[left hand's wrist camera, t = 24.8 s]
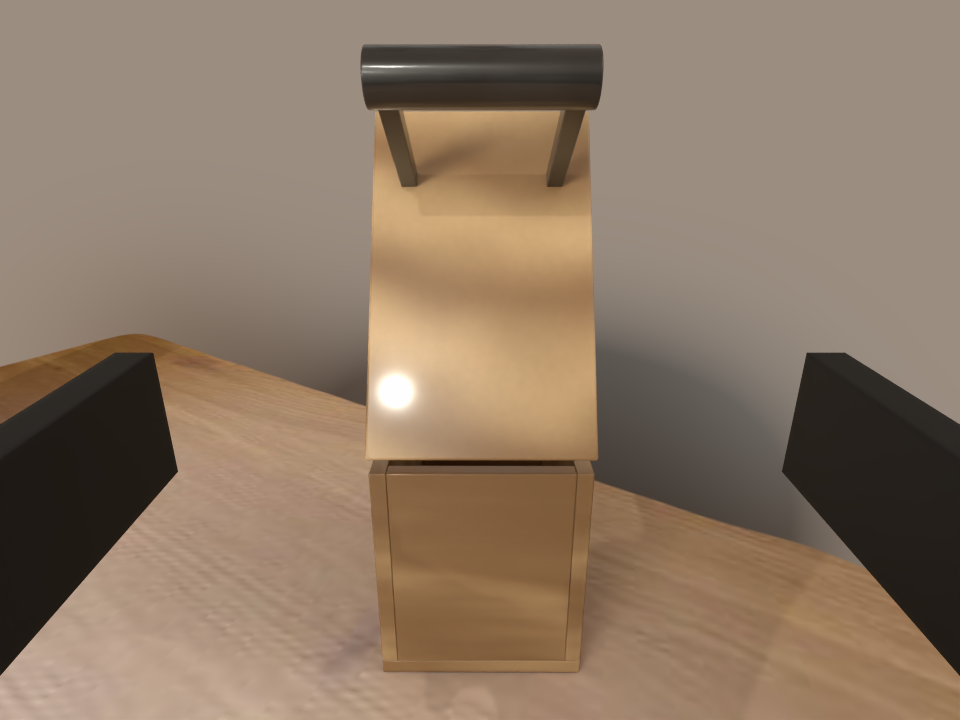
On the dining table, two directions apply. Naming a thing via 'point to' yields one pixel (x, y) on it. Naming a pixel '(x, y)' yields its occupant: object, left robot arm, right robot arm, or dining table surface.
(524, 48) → the lid
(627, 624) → the dining table surface
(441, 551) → the chest
